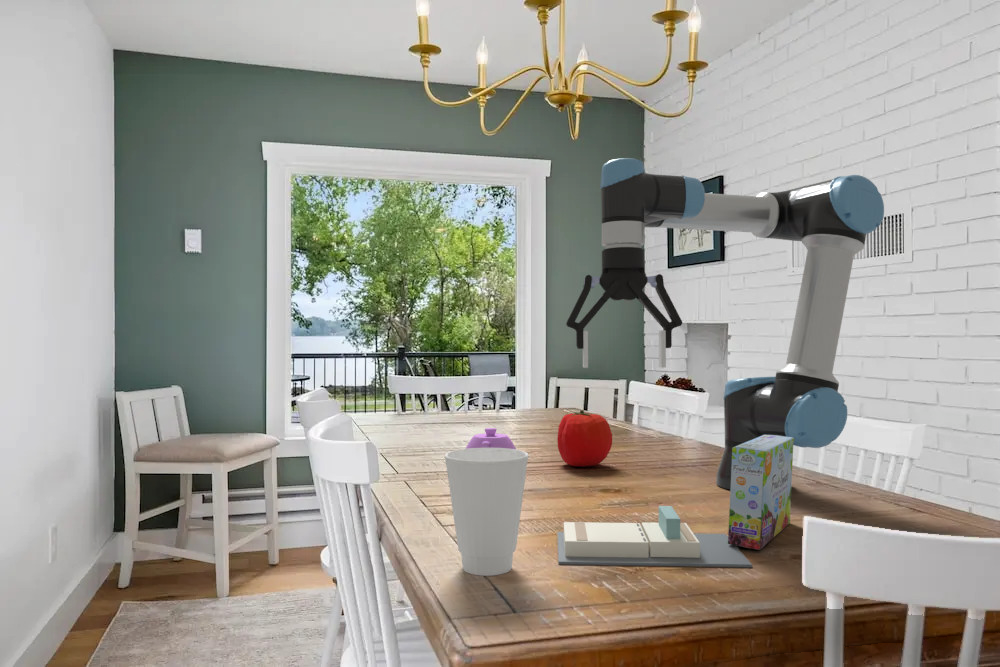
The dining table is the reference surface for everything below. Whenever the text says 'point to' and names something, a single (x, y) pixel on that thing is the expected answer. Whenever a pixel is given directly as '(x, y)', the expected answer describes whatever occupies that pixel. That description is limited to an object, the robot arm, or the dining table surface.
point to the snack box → (760, 490)
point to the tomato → (584, 439)
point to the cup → (486, 505)
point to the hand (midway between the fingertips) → (623, 367)
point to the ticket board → (637, 547)
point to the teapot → (490, 440)
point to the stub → (670, 536)
